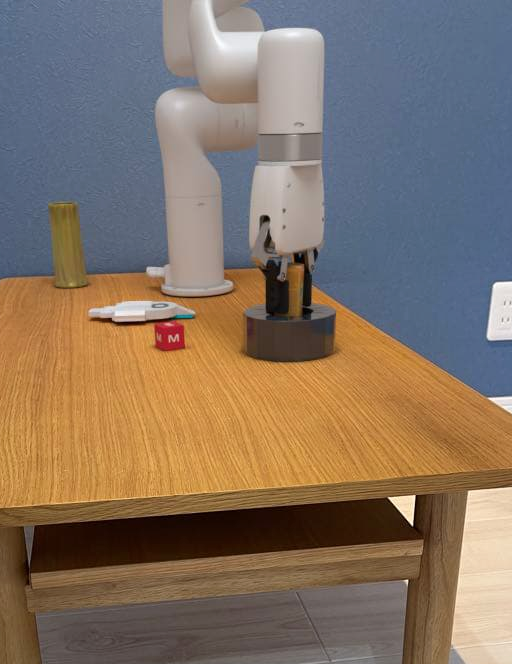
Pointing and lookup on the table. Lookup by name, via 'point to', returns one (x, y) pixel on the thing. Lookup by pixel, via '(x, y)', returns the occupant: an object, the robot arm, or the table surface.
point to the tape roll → (289, 334)
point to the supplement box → (294, 288)
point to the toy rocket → (142, 311)
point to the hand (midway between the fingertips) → (288, 307)
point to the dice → (169, 335)
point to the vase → (67, 245)
